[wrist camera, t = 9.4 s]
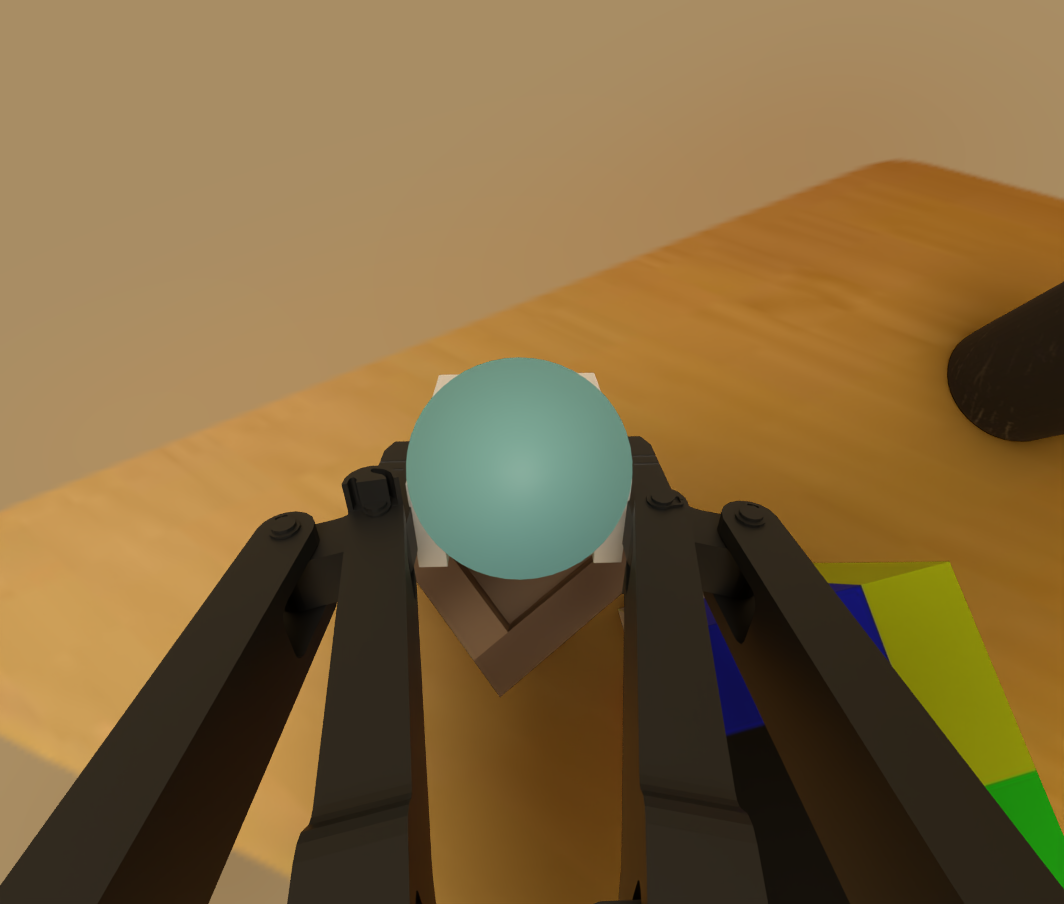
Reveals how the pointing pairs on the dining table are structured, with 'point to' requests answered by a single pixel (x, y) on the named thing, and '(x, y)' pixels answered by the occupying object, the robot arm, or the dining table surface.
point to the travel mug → (1014, 371)
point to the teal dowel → (519, 468)
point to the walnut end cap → (518, 612)
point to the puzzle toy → (936, 681)
